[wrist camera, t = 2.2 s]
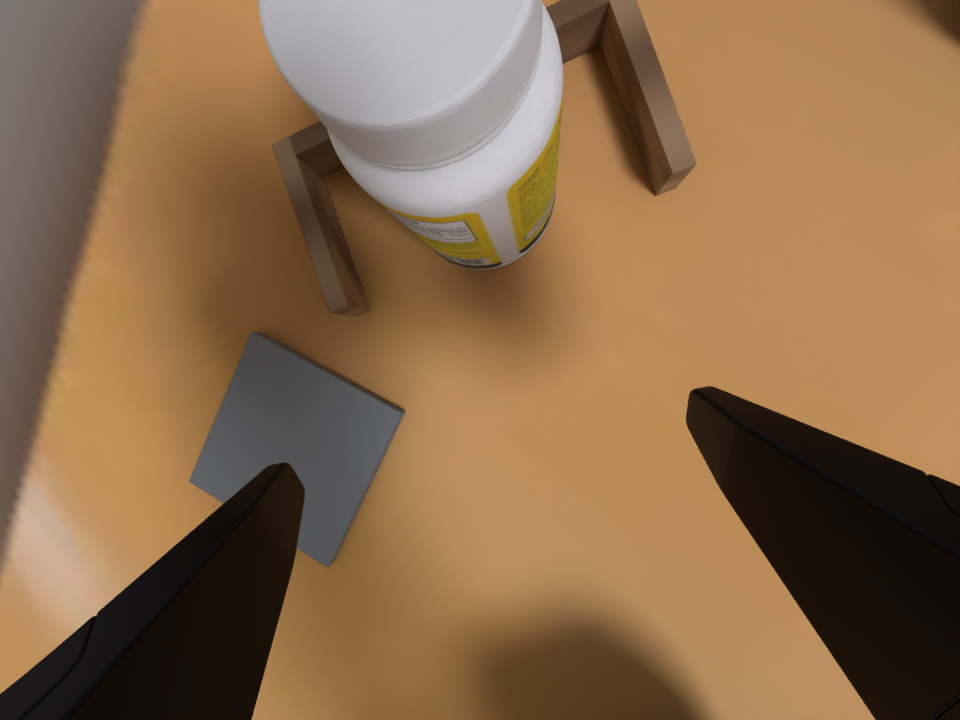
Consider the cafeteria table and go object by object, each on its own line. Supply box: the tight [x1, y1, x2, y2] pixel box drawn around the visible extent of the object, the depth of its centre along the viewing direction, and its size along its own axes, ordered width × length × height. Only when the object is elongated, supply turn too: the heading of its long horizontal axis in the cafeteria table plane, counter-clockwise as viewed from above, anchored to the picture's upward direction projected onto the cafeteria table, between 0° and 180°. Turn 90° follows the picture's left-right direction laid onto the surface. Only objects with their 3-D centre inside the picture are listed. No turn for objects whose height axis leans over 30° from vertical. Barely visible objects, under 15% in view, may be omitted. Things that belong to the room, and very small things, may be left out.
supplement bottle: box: [258, 0, 563, 270], centre depth 14 cm, size 7×7×13 cm
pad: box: [189, 332, 405, 567], centre depth 22 cm, size 10×10×1 cm
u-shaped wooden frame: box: [272, 0, 696, 316], centre depth 19 cm, size 9×18×2 cm, turn 110°
